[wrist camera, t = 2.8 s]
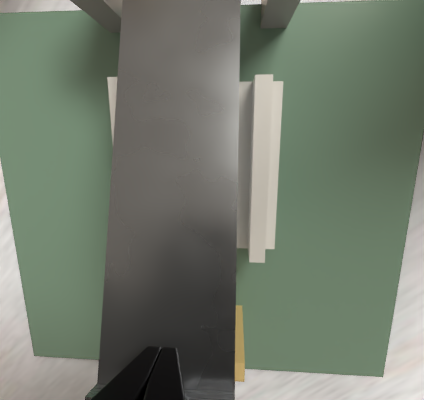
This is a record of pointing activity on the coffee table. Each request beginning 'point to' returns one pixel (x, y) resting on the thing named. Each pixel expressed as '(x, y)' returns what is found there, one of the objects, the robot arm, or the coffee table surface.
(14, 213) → the board
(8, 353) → the coffee table surface
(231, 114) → the grey hinged lever
